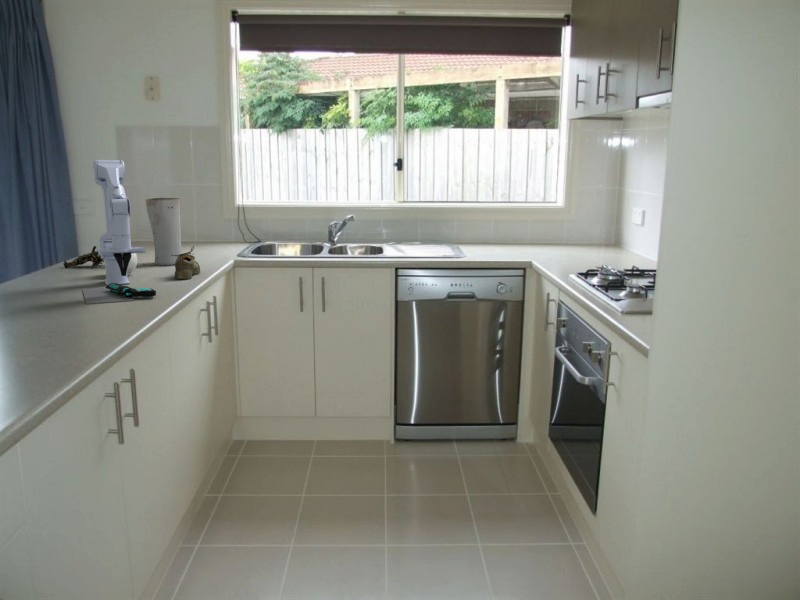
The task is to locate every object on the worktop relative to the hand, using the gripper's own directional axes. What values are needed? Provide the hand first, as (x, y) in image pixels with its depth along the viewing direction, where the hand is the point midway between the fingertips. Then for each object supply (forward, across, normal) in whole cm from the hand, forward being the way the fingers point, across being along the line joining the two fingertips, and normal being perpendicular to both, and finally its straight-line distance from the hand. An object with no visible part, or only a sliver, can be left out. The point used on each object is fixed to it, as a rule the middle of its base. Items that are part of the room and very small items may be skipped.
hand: (123, 275), depth 225 cm
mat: (+6, -6, 0) cm, 8 cm away
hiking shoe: (+7, +25, +29) cm, 39 cm away
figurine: (+7, -8, +63) cm, 64 cm away
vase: (+7, +22, +60) cm, 64 cm away
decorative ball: (+7, +2, +37) cm, 38 cm away
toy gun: (+5, +4, 0) cm, 6 cm away
